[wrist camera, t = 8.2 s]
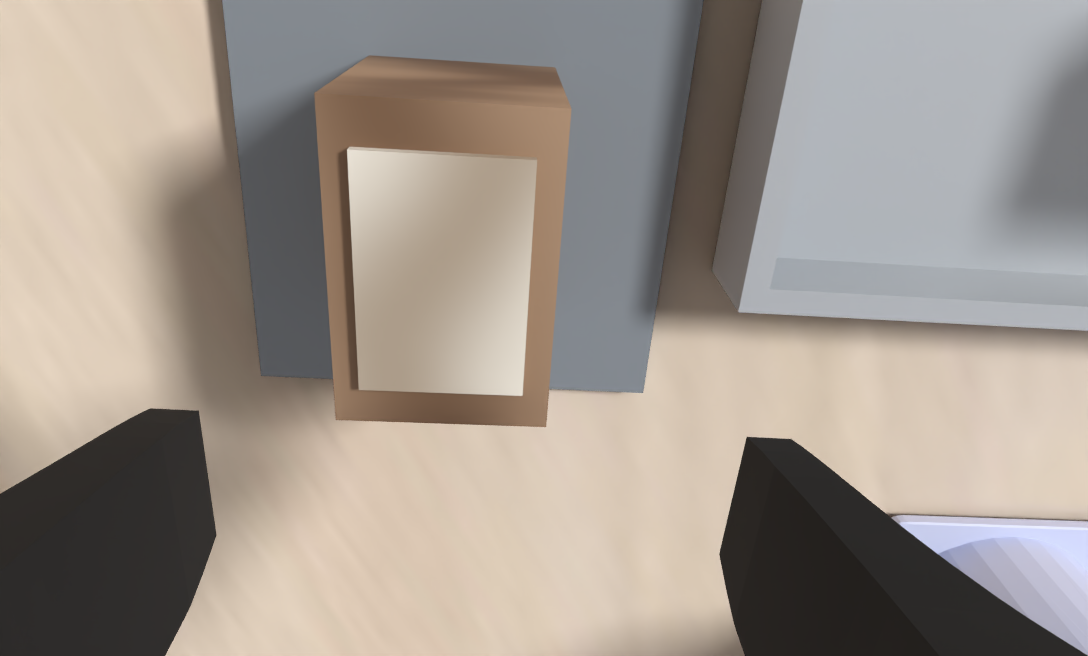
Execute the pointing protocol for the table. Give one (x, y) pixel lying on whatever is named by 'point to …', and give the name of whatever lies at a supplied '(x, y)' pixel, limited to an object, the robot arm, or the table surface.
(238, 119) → the slate mat
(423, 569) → the table surface
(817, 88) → the grey bin
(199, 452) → the robot arm
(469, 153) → the labelled block
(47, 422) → the table surface
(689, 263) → the table surface
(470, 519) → the table surface
